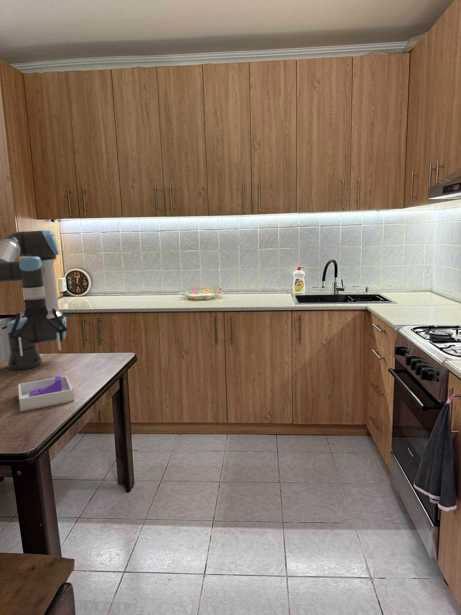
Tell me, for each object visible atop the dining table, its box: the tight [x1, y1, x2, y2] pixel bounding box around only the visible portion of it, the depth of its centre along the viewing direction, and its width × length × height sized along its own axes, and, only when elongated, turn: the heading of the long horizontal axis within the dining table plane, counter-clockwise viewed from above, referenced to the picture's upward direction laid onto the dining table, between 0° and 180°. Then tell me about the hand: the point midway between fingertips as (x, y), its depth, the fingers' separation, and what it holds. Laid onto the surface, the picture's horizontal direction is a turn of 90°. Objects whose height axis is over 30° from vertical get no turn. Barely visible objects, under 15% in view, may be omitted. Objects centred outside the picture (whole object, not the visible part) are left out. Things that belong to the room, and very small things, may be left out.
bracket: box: [29, 375, 62, 397], centre depth 173 cm, size 12×7×7 cm, turn 112°
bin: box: [17, 375, 75, 412], centre depth 174 cm, size 19×19×5 cm
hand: (41, 352), depth 171 cm, fingers open, 13 cm apart
